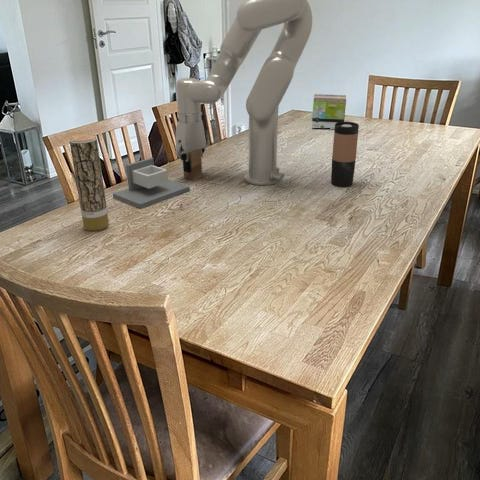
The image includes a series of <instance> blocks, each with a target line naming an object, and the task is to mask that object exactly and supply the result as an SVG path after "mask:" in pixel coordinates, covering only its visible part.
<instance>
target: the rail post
mask: <svg viewBox="0 0 480 480" xmlns="http://www.w3.org/2000/svg"><path fill="white" fill-rule="evenodd" d="M185 157H186V154H185ZM201 160H202V158H201V149H199V150H196V151H192V152H190V156H189V161H190V165H191V172H190V173H188V172H185V171H184V170H183V178H185V179H187V180H190V181H196V180H199V179H201V178H203V160H202V161H201Z"/></svg>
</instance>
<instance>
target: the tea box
mask: <svg viewBox="0 0 480 480" xmlns="http://www.w3.org/2000/svg"><path fill="white" fill-rule="evenodd" d="M346 106H347V96H346V95H345V94H339V95H338V94H319V93H318V94H317V93H315V94H314V97H313V106H312V117H311V129H312V128H331V129H330V130H332V129H335V124H336V123H338V122H345V119H346V118H345V116H346Z"/></svg>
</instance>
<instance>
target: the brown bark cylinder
mask: <svg viewBox="0 0 480 480" xmlns="http://www.w3.org/2000/svg"><path fill="white" fill-rule="evenodd" d="M68 140H69V146H70V152H71V153H70V154H71V159H72V164H73V172H74V176H75V183H76V188H77V189H76V190H77V195H78V201H79V206H80V213H81V219H82V225H83V228H84V229H85V230H87V231H89V232H90V231H91V232H99V231H102V230H105V229H107V228H108V227H109V225H110V224H109V216H108V207H107V200H106V194H105V193H106V192H105V187H104V186H105V185H104V179H103V178H104V177H103V172H102V164H101V159H100V150H99V144H98V143H99V142H98V138H97V135H95V134H91V133H90V134H87V133H86V134H76V135H73V136H71V137H69V139H68ZM98 230H99V231H98Z"/></svg>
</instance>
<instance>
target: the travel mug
mask: <svg viewBox="0 0 480 480" xmlns="http://www.w3.org/2000/svg"><path fill="white" fill-rule="evenodd" d="M359 127H360V126H359V124H358V123H356V122H352V121H344V122H338V123H336V124H335V130H333V131H334V132H333V144H332V155H331V171H330V173H331V177H330V178H331V179H330V183H331V185H332V186H334V187H336V186H337V188H349V187H351V186H353V183H354V177H355V169H356V168H355V167H356V162H357V161H356V159H357V148H358V139H359V138H358V137H359V129H360V128H359Z"/></svg>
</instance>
